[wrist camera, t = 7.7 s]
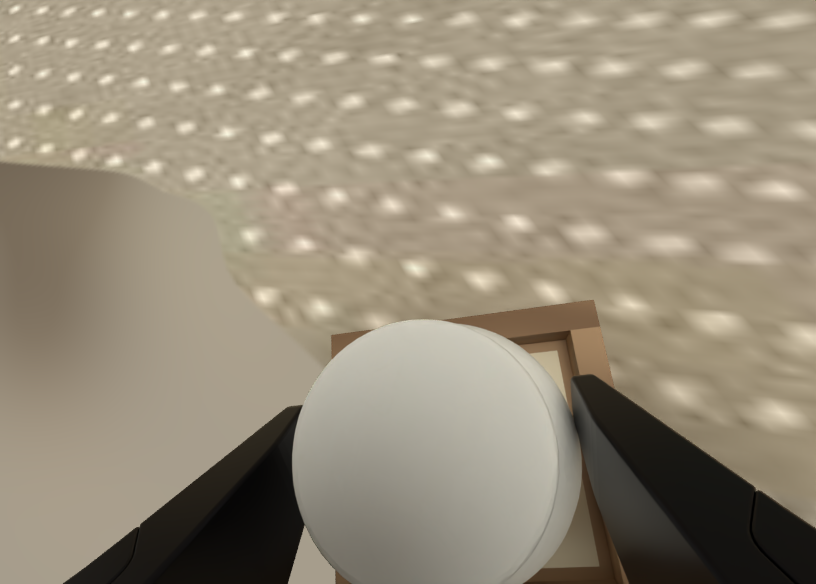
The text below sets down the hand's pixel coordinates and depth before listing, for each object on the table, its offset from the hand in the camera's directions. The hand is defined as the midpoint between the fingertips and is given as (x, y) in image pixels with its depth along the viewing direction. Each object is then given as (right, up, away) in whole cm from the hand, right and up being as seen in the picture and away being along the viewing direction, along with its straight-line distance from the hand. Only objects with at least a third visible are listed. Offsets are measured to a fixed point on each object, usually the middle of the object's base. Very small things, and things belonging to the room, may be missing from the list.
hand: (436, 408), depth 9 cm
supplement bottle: (+2, -3, +6) cm, 7 cm away
